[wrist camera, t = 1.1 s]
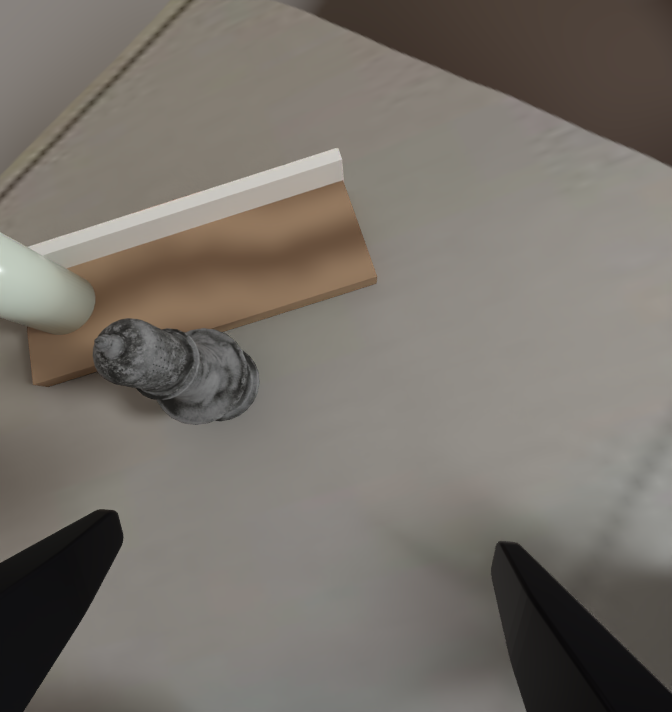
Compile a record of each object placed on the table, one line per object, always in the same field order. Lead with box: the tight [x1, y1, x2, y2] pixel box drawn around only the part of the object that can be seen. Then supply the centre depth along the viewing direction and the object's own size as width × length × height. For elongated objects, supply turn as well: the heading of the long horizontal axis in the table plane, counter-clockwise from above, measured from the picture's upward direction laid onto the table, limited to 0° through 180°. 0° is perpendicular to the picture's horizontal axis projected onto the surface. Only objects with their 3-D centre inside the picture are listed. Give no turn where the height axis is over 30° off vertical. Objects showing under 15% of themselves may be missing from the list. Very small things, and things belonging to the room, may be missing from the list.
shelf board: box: [27, 180, 377, 387], centre depth 26 cm, size 9×25×1 cm, turn 107°
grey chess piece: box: [93, 318, 259, 425], centre depth 19 cm, size 6×6×12 cm
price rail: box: [28, 148, 344, 268], centre depth 26 cm, size 1×25×3 cm, turn 106°
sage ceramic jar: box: [0, 232, 95, 335], centre depth 21 cm, size 5×5×9 cm
